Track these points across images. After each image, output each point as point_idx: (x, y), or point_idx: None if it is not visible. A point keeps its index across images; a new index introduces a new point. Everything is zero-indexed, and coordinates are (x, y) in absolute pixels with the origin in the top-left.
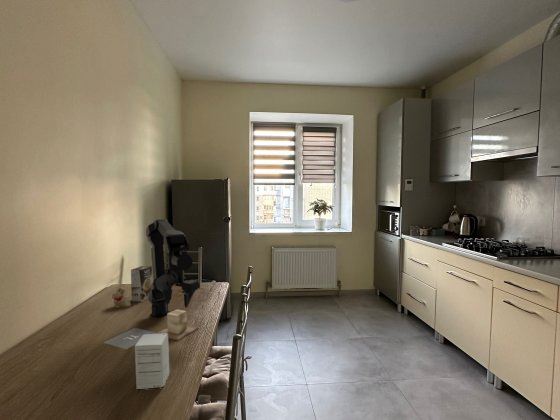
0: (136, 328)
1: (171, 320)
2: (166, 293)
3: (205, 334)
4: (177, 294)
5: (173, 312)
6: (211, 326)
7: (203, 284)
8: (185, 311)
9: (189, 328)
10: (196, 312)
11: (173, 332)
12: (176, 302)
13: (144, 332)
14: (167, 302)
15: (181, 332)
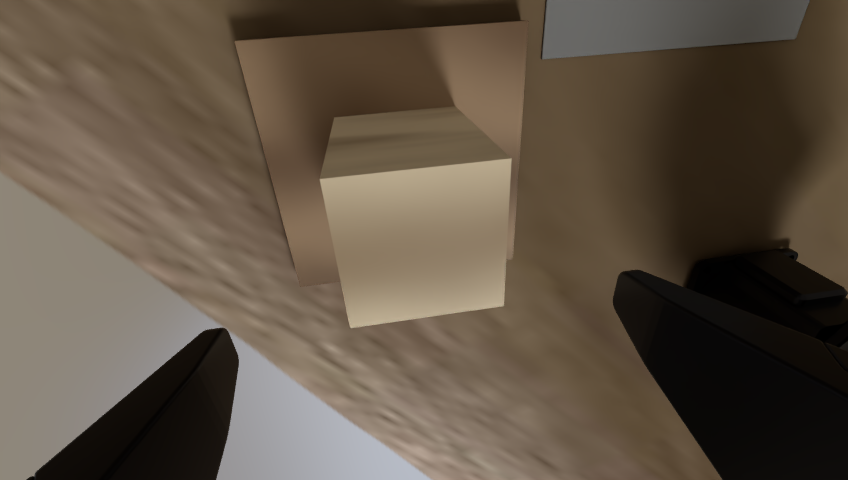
0: (778, 34)
1: (422, 142)
2: (815, 434)
3: (171, 248)
4: None
5: (465, 229)
6: (264, 347)
7: None
8: (354, 319)
9: None
10: (521, 410)
11: (386, 113)
12: None
13: (662, 8)
14: (637, 288)
15: None
